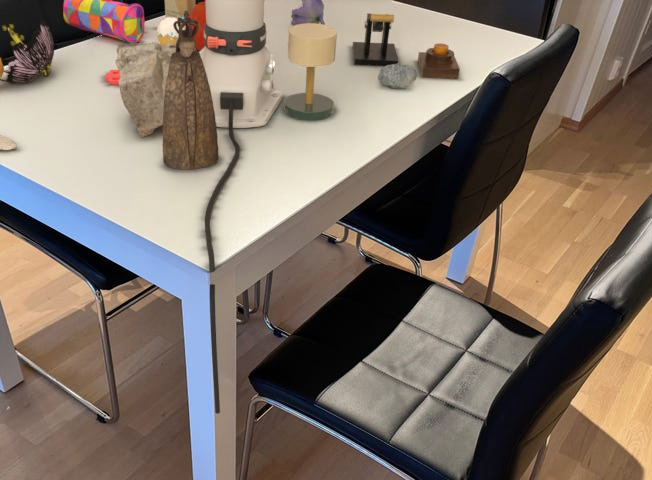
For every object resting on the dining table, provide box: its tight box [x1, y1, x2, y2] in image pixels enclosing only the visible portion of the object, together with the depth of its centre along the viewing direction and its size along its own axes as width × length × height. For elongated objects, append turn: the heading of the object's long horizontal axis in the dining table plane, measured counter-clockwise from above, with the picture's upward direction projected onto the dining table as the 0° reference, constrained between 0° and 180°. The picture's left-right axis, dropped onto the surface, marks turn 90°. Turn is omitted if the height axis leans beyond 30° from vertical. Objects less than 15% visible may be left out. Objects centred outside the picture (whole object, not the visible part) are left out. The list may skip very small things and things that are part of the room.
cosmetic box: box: [164, 0, 197, 27], centre depth 161 cm, size 6×4×12 cm
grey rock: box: [377, 62, 418, 89], centre depth 146 cm, size 8×4×5 cm, turn 89°
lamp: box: [283, 23, 338, 121], centre depth 132 cm, size 10×10×15 cm
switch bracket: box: [352, 13, 399, 67], centre depth 158 cm, size 12×10×9 cm
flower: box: [290, 0, 326, 26], centre depth 172 cm, size 9×9×10 cm
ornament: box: [156, 16, 186, 46], centre depth 158 cm, size 7×7×8 cm
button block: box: [417, 47, 461, 80], centre depth 154 cm, size 10×8×4 cm
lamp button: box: [433, 42, 450, 55], centre depth 153 cm, size 3×3×2 cm
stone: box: [114, 41, 176, 138], centre depth 126 cm, size 13×17×15 cm
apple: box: [189, 1, 206, 52], centre depth 157 cm, size 11×11×11 cm
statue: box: [162, 11, 220, 170], centre depth 110 cm, size 9×8×25 cm
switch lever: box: [370, 13, 395, 33], centre depth 152 cm, size 11×5×2 cm, turn 177°
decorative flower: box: [0, 20, 55, 85], centre depth 141 cm, size 15×12×15 cm
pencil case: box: [62, 0, 146, 44], centre depth 164 cm, size 22×9×9 cm
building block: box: [105, 69, 120, 87], centre depth 146 cm, size 1×8×8 cm
